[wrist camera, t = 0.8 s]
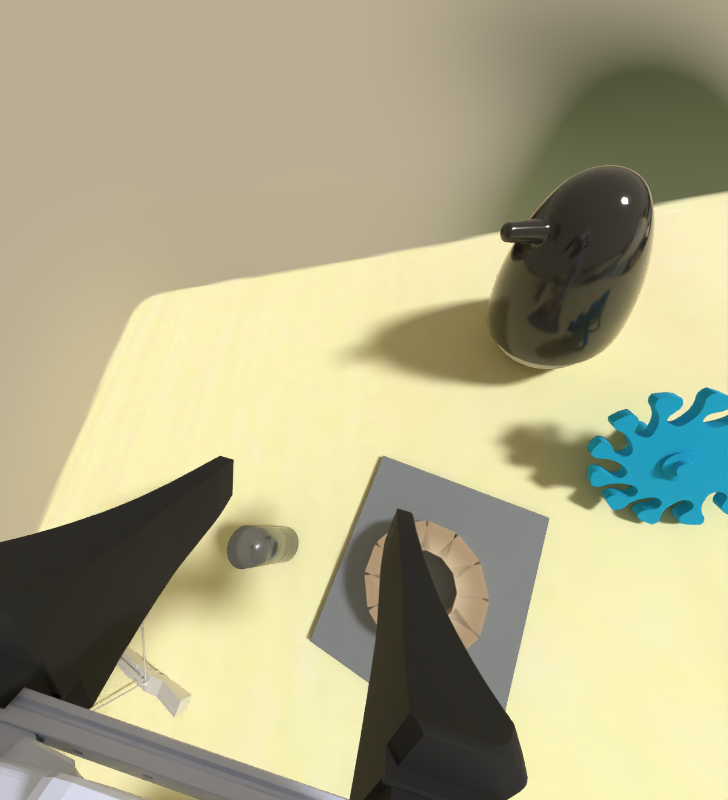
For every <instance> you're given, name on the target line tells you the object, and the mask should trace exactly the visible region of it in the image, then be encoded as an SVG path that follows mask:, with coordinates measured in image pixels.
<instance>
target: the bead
mask: <svg viewBox="0 0 728 800" xmlns="http://www.w3.org/2000/svg"><path fill="white" fill-rule="evenodd" d="M415 525H416V530H417V533H418V537H419V540H420V544H421V547H422V550H426V551H429V552H431V553H433V554H435V555H437V556H439V557H441V558H442V559H443V560H444V562H445V563H446V564H447V566H448V567H449V568H450V570H451V571H452V572H453V575H454V580H455V585H456V590H457V591H456V594H455V598H454V601H453V604H452V605H451V606H450V607H449V608H448V609H447V610H446V611H447V613H448V616H449V618H450V620H451V622H452V624H453V626H454V628H455V630H456V632H457V633H458V635H459V637H460V639H461V641H462V642H463V644H464V646H465V648H466V649H467V648H469V647H470V646H471V645H472V644H473V643H474V642H476V641H477V640H478V635H477V634H479V635H481V632H482V628H483V624H484V620H485V616H486V613H487V609H488V605H489V601H488V599H487V598H489V596H488V591H487V587H486V583H485V579H484V575H483V570H482V566H481V563H480V562H479V559H478V558H477V557H476V556H475V554H474V553H473V552H472V551H471V549H470V548H469V547H468V546H467V544H466V543H465V542H464V541H463V539H462V538H461V537H460V536H459V535H458V536H457V537H456V538H454V537H455V533H456V532H453V531H451V530H449V529H447V528H444V527H442V526H440V525H437V524H435V523H433V522H430V521H429V522H428V521H426V520H425V521H418V522H415ZM387 534H388V533H387ZM387 534H386V535H384V536H383V537H382V538H381V539H380V540H378V541H377V542H378V544H376V545H375V546H374V549H373V551H372V554H371V557H370V559H369V562H368V565H367V567H366V570H365V572H367V573H368V574H366V575H365V586H366V596H367V607H370V606H374V607H373V608H372V609H370V610H369V612H370V614H371V616H372V617H373V619H374V621H375V623H376V624H377V615H378V599H379V583H380V568H381V561H382V554H383V548H384V543H385V539H386V536H387Z"/></svg>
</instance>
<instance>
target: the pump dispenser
mask: <svg viewBox="0 0 728 800" xmlns="http://www.w3.org/2000/svg"><path fill="white" fill-rule="evenodd" d="M500 237H501V239H502V241H504V242H510V243H513V245H512V247H511V249H510V250H509V252H508V254H507V256H506V258H505V260H504V262H503V264H502V266H501V268H500V270H499V273H498V275H497V278H496V280H495V283H494V286H493V289H492V292H491V295H490V298H489V302H488V308H487V324H488V328H489V331H490V333H491V335H492V337H493V338H494V340H495V341H496V342H497V344H498V346H499V347H500V348H501V350H502V351H503V352H504V353H505V354H506V355H507V356H509V357H510V358H511V359H513V360H514V361H516V362H518V363H520V364H523V365H525V366H528V367H533V368H538V369H557V368H563V367H567V366H570V365H573V364H576V363H580V362H583V361H586V360H588V359H590V358H592V357H594V356H596V355H598V354H599V353H601V352H602V351H604V350H605V349H606V348H607V347H608V346H609V345H610V344H611V343H612V342H613V341H614V340H615V339H616V337H617V336H618V335H619V333H620V332H621V331H622V329H623V327H624V326H625V324H626V322H627V320H628V318H629V316H630V314H631V312H632V310H633V308H634V306H635V304H636V302H637V299H638V297H639V295H640V292H641V290H642V287H643V284H644V281H645V277H646V274H647V270H648V266H649V262H650V257H651V252H652V246H653V238H654V207H653V202H652V197H651V193H650V190H649V188H648V185H647V184H646V182H645V181H644V179H643V178H642V177H641V176H640V175H639V174H637V173H636V172H634V171H632V170H630V169H628V168H625V167H621V166H614V165H606V166H599V167H594V168H590V169H588V170H584V171H582V172H580V173H578V174H576V175H574V176H572V177H571V178H569V179H568V180H566V181H565V182H564V183H562V184H561V185H560V186H559V187H558V188H556V189H555V190H554V191H553V192H552V193H551V194H550V195H549V196H548V197H547V198H546V200H544V202H543V203H542V204H541V205H540V206H539V207H538V208H537V210H536V211H535V212H534V213H533V215H532V216H531V217H530V219H529V220H522V221H512V222H507V223H505V224H504V225H503V227H502V229H501V232H500Z"/></svg>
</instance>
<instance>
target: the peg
mask: <svg viewBox="0 0 728 800" xmlns="http://www.w3.org/2000/svg"><path fill="white" fill-rule="evenodd" d="M297 549H298V537H297V534H296V533H295V531H294V530H293V529H291V528H289V527H273V526H243V527H240V528H239V529H237V530H236V531H235V532H234V533H233V535H232V536H231V538H230V540H229V543H228V548H227V554H228V559H229V561H230V563H231V564H232V565H233V566H234V567H236V568H238V569H246V568H252V567H258V566H263V565H269V564H275V563H281V562H286V561H289V560H290V559H291V558H293V556H294V555H295V554H296V552H297Z"/></svg>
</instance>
